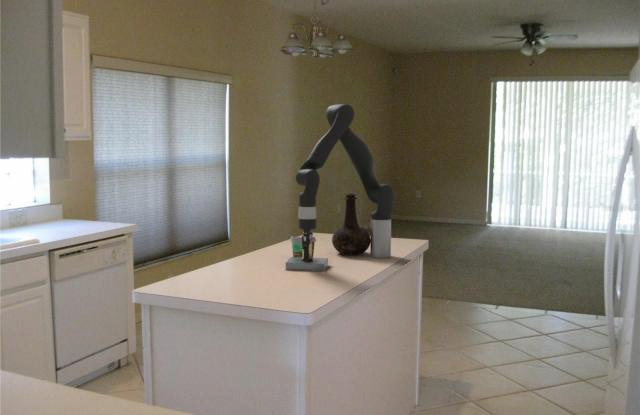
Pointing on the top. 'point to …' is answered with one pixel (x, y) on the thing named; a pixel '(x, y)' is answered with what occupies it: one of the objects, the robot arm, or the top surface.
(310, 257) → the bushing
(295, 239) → the food container
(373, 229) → the robot arm
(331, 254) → the top surface
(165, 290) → the top surface
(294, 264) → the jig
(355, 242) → the glass bottle
